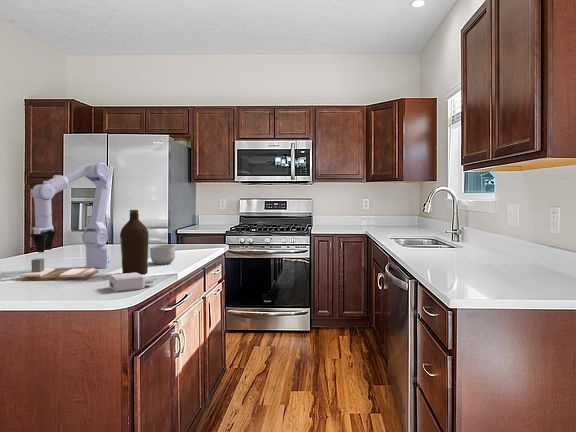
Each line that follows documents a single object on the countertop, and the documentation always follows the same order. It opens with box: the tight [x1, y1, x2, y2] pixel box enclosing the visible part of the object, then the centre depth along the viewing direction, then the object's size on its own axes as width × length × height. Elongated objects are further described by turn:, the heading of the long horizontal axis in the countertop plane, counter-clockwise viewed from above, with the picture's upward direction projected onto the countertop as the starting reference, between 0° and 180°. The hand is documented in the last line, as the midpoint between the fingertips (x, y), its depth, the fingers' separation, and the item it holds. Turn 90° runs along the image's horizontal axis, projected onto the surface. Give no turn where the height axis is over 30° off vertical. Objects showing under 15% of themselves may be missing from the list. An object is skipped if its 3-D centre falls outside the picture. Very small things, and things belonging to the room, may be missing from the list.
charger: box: [108, 272, 159, 293], centre depth 166 cm, size 5×9×15 cm
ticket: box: [59, 268, 96, 277], centre depth 187 cm, size 9×14×1 cm, turn 6°
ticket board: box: [22, 269, 99, 282], centre depth 187 cm, size 22×16×1 cm
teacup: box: [149, 244, 176, 265], centre depth 221 cm, size 14×11×8 cm
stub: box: [19, 258, 56, 278], centre depth 186 cm, size 7×14×5 cm, turn 6°
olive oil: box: [119, 209, 149, 276], centre depth 193 cm, size 11×11×25 cm
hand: (44, 251), depth 190 cm, fingers open, 7 cm apart
